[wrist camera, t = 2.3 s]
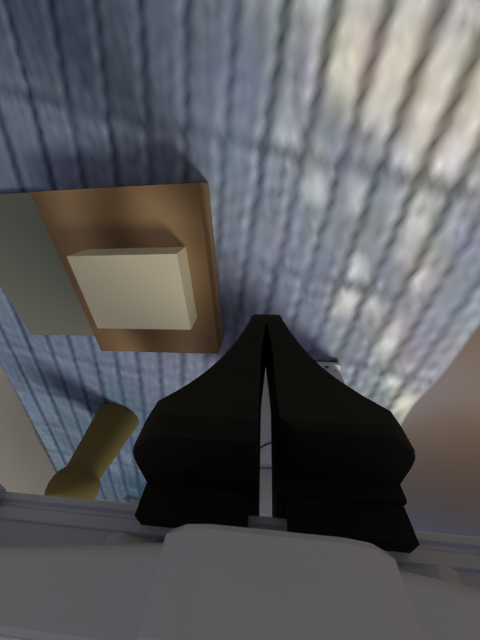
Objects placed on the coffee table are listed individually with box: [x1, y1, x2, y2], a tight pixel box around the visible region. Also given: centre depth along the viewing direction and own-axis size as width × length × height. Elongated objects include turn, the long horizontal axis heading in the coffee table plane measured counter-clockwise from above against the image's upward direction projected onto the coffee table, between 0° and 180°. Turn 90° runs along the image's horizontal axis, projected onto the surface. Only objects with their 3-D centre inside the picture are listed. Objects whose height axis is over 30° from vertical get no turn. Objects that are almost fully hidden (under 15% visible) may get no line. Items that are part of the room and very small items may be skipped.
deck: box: [31, 183, 223, 354], centre depth 20 cm, size 12×14×3 cm
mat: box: [0, 192, 95, 336], centre depth 23 cm, size 10×14×1 cm
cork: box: [45, 404, 138, 500], centre depth 29 cm, size 6×6×11 cm
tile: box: [67, 247, 197, 330], centre depth 18 cm, size 8×6×2 cm
